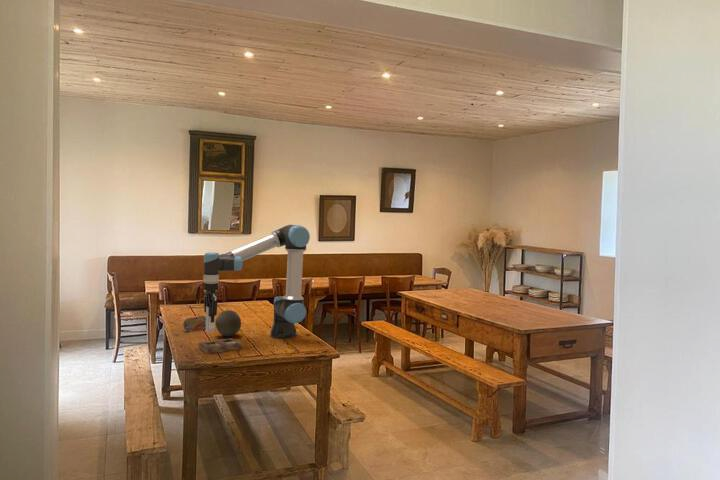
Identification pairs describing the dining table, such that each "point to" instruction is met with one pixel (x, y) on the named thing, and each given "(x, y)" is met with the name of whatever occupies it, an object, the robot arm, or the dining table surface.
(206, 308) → the plug
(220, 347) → the socket board
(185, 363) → the dining table surface
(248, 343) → the dining table surface
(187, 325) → the tin
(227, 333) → the dark grey round ball
